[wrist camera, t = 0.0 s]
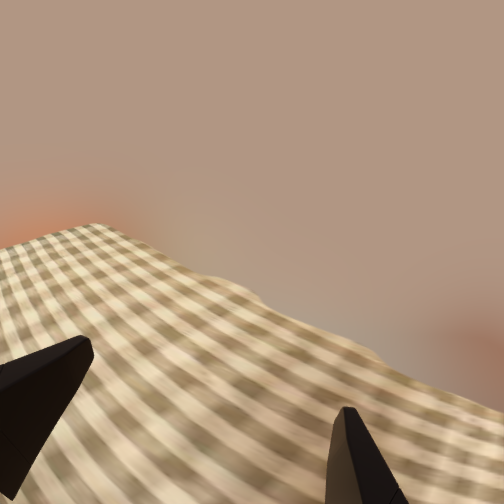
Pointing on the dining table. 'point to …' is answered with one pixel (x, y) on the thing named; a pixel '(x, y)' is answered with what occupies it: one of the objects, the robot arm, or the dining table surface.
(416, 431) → the dining table surface
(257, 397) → the dining table surface
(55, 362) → the robot arm
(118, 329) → the dining table surface
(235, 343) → the dining table surface
